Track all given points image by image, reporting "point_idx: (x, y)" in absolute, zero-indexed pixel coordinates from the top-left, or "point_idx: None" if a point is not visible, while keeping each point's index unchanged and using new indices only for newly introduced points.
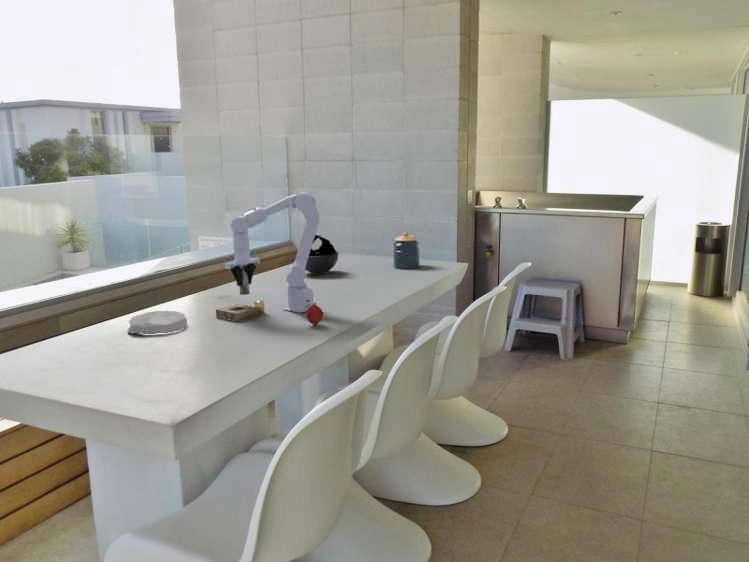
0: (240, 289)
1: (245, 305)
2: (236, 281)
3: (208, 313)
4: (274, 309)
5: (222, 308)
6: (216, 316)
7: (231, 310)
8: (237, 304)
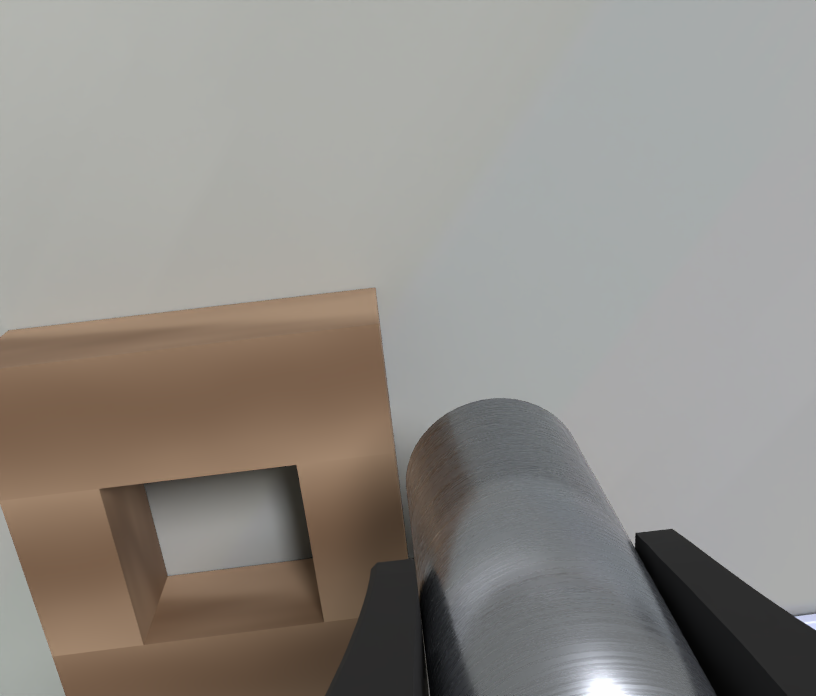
0: (413, 543)
1: (398, 493)
2: (356, 636)
3: (5, 14)
4: (717, 528)
5: (63, 398)
6: (3, 336)
7: (112, 582)
8: (357, 354)
